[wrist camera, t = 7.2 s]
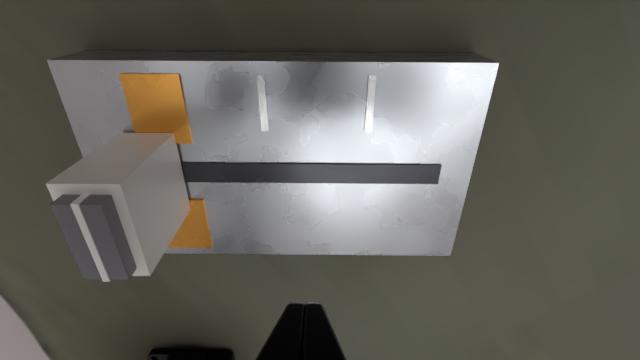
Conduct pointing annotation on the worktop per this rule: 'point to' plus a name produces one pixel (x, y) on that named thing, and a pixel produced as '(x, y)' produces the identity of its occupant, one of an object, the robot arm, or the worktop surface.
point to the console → (297, 142)
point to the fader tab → (121, 205)
